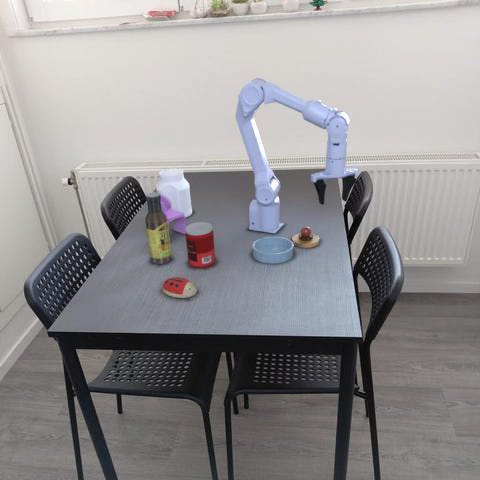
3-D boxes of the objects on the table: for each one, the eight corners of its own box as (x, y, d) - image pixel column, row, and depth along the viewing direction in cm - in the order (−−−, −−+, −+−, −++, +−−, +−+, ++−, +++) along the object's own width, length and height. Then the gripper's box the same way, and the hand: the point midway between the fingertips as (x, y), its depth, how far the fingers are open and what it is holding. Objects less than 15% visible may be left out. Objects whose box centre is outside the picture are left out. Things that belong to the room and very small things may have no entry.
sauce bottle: (167, 266, 139) (157, 199, 127) (147, 264, 140) (136, 198, 129) (176, 256, 144) (167, 191, 132) (157, 254, 145) (147, 190, 134)
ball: (302, 239, 146) (303, 229, 144) (298, 235, 148) (299, 225, 146) (312, 238, 146) (313, 228, 144) (308, 234, 149) (309, 224, 147)
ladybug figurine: (190, 302, 122) (189, 289, 120) (156, 296, 125) (154, 284, 123) (201, 289, 127) (200, 277, 125) (169, 283, 130) (167, 272, 128)
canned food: (219, 258, 141) (216, 223, 135) (209, 270, 135) (206, 234, 129) (195, 255, 144) (192, 220, 138) (184, 267, 137) (180, 231, 131)
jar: (157, 218, 169) (150, 176, 161) (163, 208, 177) (158, 167, 169) (189, 218, 168) (184, 176, 159) (194, 208, 176) (190, 167, 167)
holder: (287, 245, 147) (287, 238, 145) (297, 234, 153) (297, 228, 152) (314, 249, 143) (314, 242, 142) (322, 238, 150) (323, 231, 148)
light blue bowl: (246, 259, 140) (245, 250, 138) (262, 243, 149) (262, 234, 147) (284, 266, 135) (284, 256, 134) (299, 249, 144) (299, 240, 142)
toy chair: (190, 234, 156) (185, 189, 148) (169, 243, 151) (163, 197, 143) (173, 228, 161) (167, 184, 153) (152, 237, 156) (145, 191, 148)
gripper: (352, 150, 145) (348, 194, 153) (307, 156, 142) (306, 200, 150) (363, 156, 139) (359, 202, 147) (316, 162, 137) (314, 208, 144)
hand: (332, 201), depth 148 cm, fingers open, 7 cm apart
